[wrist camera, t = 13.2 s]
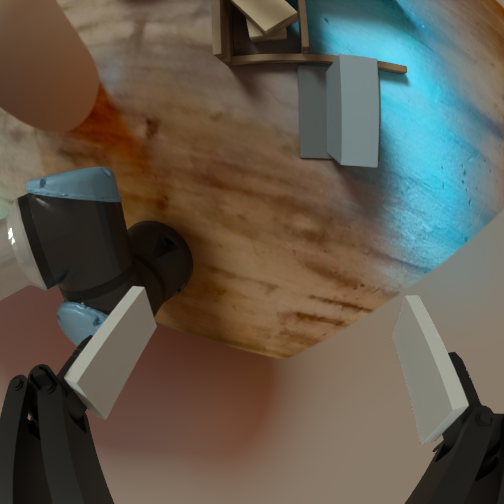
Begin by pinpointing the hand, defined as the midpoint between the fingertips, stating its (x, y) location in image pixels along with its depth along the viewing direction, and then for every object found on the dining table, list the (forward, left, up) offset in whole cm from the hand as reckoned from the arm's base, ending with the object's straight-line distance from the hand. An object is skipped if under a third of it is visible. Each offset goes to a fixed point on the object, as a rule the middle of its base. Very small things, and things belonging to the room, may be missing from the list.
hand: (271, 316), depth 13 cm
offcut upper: (-2, +26, -27) cm, 38 cm away
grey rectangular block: (+8, +10, -30) cm, 33 cm away
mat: (+8, +10, -31) cm, 33 cm away
